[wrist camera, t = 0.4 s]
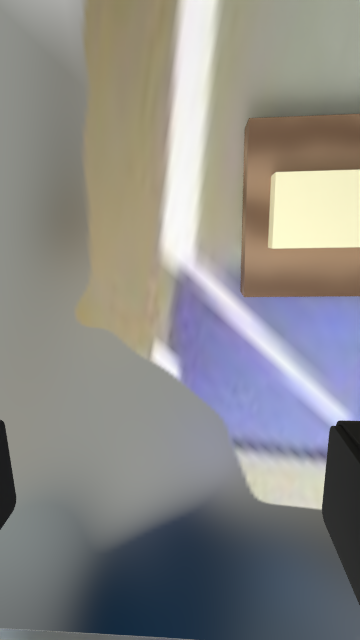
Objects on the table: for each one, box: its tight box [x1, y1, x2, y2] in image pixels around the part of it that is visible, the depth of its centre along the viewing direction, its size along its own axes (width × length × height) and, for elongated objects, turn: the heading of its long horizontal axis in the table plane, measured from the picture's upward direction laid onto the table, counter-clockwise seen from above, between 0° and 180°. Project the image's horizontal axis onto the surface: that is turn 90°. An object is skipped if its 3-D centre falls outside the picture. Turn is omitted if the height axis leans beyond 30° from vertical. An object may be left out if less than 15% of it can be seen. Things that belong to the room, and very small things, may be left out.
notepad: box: [268, 170, 360, 249], centre depth 29 cm, size 6×9×2 cm, turn 91°
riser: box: [241, 114, 360, 297], centre depth 31 cm, size 15×14×3 cm
